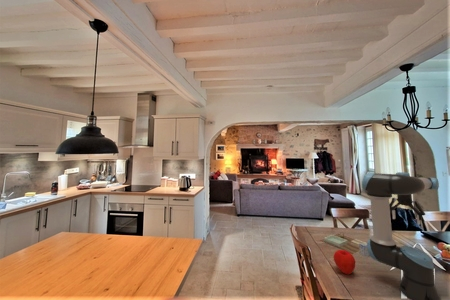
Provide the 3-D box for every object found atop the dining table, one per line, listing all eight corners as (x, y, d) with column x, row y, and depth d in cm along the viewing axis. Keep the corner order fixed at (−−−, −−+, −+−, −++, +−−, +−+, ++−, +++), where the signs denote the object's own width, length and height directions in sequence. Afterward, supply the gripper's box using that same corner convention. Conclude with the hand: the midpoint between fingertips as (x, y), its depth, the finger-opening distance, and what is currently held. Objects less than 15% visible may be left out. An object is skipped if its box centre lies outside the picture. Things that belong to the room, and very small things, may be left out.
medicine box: (369, 254, 134) (368, 242, 135) (374, 257, 130) (373, 245, 130) (359, 254, 134) (358, 243, 134) (364, 258, 130) (363, 246, 130)
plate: (361, 248, 141) (361, 245, 141) (350, 244, 148) (350, 241, 148) (366, 245, 145) (366, 242, 145) (355, 241, 152) (355, 239, 152)
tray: (339, 247, 143) (339, 243, 143) (324, 241, 154) (323, 237, 155) (347, 243, 148) (347, 240, 149) (332, 237, 160) (332, 234, 160)
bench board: (352, 255, 133) (351, 247, 133) (320, 241, 156) (319, 234, 156) (370, 246, 146) (370, 238, 146) (338, 234, 169) (338, 228, 169)
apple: (330, 269, 117) (329, 248, 118) (342, 265, 122) (341, 245, 122) (347, 280, 106) (346, 258, 107) (360, 275, 110) (359, 253, 111)
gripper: (430, 195, 123) (432, 226, 122) (385, 190, 145) (387, 215, 144) (426, 196, 120) (428, 228, 119) (381, 190, 142) (382, 217, 141)
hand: (406, 221), depth 132 cm, fingers open, 13 cm apart
